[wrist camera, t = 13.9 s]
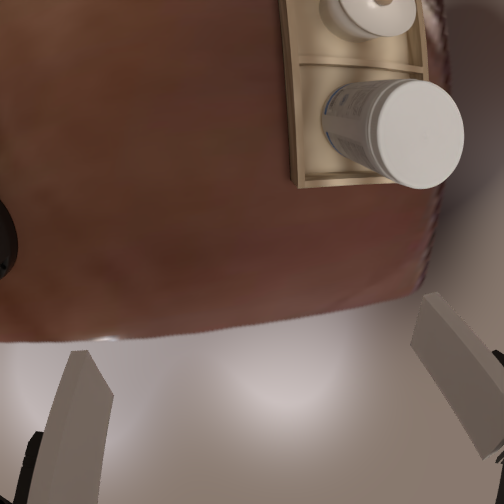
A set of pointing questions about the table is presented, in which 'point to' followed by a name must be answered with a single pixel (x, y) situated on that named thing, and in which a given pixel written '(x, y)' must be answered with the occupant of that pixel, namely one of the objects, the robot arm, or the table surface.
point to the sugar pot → (367, 18)
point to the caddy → (335, 86)
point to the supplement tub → (396, 129)
